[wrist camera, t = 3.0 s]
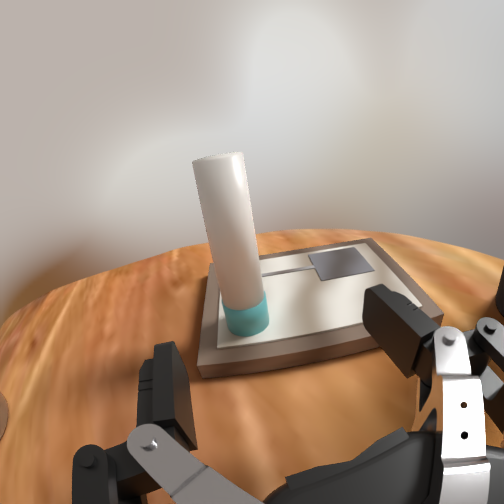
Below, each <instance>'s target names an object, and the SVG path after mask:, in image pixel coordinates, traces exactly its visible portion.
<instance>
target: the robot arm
mask: <svg viewBox="0 0 504 504" xmlns="http://www.w3.org/2000/svg"><path fill="white" fill-rule="evenodd" d="M362 321H363V325H364V327H365V329H366V330H367V331H368V333H369V334H370V335H371V336H372V337H373V338H374V340H375V341H376V342H377V343H378V344H379V346H380V347H381V348H382V349H383V350H384V351H385V353H386V354H387V355H388V356H389V357H390V359H391V360H392V361H393V362H394V363H395V365H396V366H397V367H398V368H399V369H400V371H401V372H402V373H403V374H404V375H405V377H406V378H409V377H411V376H413V375H414V374H417V375H418V376H419V377H418V380H417V397H416V413H415V420H414V423H413V426H412V429H411V432H407V433H406V432H405V430H404V429H403V427H401V428H400V429H398V430H396V431H394V432H392V433H391V434H389V435H387V436H385V437H383V438H381V439H379V440H377V441H376V442H375V443H374V444H372V445H371V446H370V447H369V448H368V449H366V450H365V451H364V452H362V453H361V454H360V455H359V456H357V457H356V458H355V459H353V460H351V461H348V462H342V463H337V464H331V465H324V466H317V467H314V468H312V469H309V470H306V471H303V472H300V473H297V474H294V475H290V476H287V477H285V479H286V484H284V485H282V486H280V487H279V488H277V489H276V490H274V491H273V492H272V493H271V494H270V495H268V496H267V497H266V499H265V500H264V501H263V502H261V501H259V500H258V499H256V498H254V497H253V496H251V495H250V494H248V493H247V492H245V491H243V490H242V489H240V488H239V487H237V486H236V485H235V484H233V483H232V482H230V481H229V480H227V479H226V478H225V477H223V476H222V475H220V474H219V473H218V472H216V471H215V470H213V469H212V468H211V467H209V466H207V465H204V464H203V463H201V462H200V461H199V460H198V459H196V458H195V457H194V456H193V455H192V454H190V451H192V450H198V447H197V441H196V434H195V427H194V419H193V412H192V403H191V395H190V385H189V378H188V374H187V371H186V368H185V365H184V363H183V361H182V359H181V356H180V354H179V352H178V350H177V347H176V345H175V343H174V342H173V341H171V342H166V343H161V344H156V345H155V346H154V358H153V359H148V360H145V361H144V363H143V365H142V367H141V369H140V372H139V385H138V391H139V392H138V403H137V425H136V428H135V429H134V430H133V431H132V432H131V433H130V434H129V436H128V439H127V441H126V442H124V443H122V444H120V445H117V446H114V447H112V448H109V449H106V450H103V449H102V448H101V447H99V446H97V445H91V444H90V445H85V446H83V447H81V448H80V449H79V450H78V451H77V452H76V453H75V455H74V458H73V470H72V504H148V503H147V496H146V494H147V493H150V492H152V491H155V490H158V489H160V488H163V489H164V490H165V491H166V492H167V493H168V494H169V495H170V497H171V498H172V499H173V501H174V502H176V503H177V504H504V383H503V382H502V381H501V380H500V378H499V377H498V376H497V375H496V374H495V373H494V372H493V371H492V369H491V368H490V367H489V366H488V364H489V362H490V360H491V359H492V360H493V361H494V362H495V363H496V364H497V365H498V366H499V367H500V368H501V369H502V371H503V372H504V326H503V325H502V324H501V323H499V322H498V321H497V320H495V319H493V318H489V317H484V318H481V319H480V320H479V321H478V322H477V325H476V328H475V329H474V330H470V331H466V332H461V331H460V330H458V329H457V328H454V327H451V326H444V327H440V326H439V325H438V324H437V323H436V322H434V321H433V320H432V319H431V318H430V317H429V316H428V315H427V314H425V313H424V312H423V311H422V310H421V309H418V307H417V306H416V305H415V304H414V303H412V301H410V300H409V299H408V298H407V297H406V296H405V295H402V294H400V293H398V292H396V291H391V290H390V289H389V288H387V287H386V286H385V285H384V284H378V285H375V286H372V287H370V288H367V289H366V290H365V292H364V302H363V312H362ZM483 408H484V410H485V411H486V412H487V414H488V415H489V416H490V418H491V419H492V420H493V422H494V423H495V424H496V426H497V427H498V428H499V430H500V431H501V433H502V434H503V441H502V442H501V448H499V447H494V446H489V445H485V424H484V410H483ZM7 420H8V404H7V401H6V399H5V397H4V396H3V395H2V394H1V392H0V439H1V437H2V435H3V433H4V430H5V428H6V425H7Z"/></svg>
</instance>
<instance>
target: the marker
mask: <svg viewBox="0 0 504 504" xmlns="http://www.w3.org/2000/svg"><path fill="white" fill-rule="evenodd" d="M192 164H193V169H194V174H195V179H196V184H197V189H198V194H199V199H200V204H201V208H202V213H203V218H204V222H205V227H206V232H207V236H208V240H209V245H210V250H211V254H212V258H213V263H214V267H215V271H216V275H217V280H218V284H219V288H220V292H221V296H222V306H223V310H224V314H225V318H226V321H227V325H228V329H229V330H230V332H231V333H233V334H235V335H237V336H243V337H247V336H253V335H256V334H259V333H261V332H262V331H264V330H265V329H266V328H267V327H268V325H269V313H268V306H267V299H266V293H265V291H264V288H263V281H262V275H261V268H260V261H259V255H258V248H257V242H256V235H255V230H254V229H255V228H254V222H253V215H252V209H251V203H250V196H249V190H248V183H247V176H246V170H245V164H244V158H243V153H242V152H233V153H225V154H219V155H214V156H209V157H204V158H201V159H198V160H195V161H193V162H192Z"/></svg>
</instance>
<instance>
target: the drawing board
mask: <svg viewBox="0 0 504 504" xmlns="http://www.w3.org/2000/svg"><path fill="white" fill-rule="evenodd" d="M259 261H260V268H261V275H262V281H263V288H264V291H265V293H266V299H267V306H268V313H269V325H268V327H267V328H266V329H265V330H264V331H262V332H261V333H259V334H256V335H253V336H247V337H243V336H237V335H235V334H233V333H231V332H230V330H229V329H228V325H227V321H226V318H225V314H224V310H223V306H222V296H221V292H220V288H219V284H218V280H217V275H216V271H215V267H214V263H210V267H209V274H208V281H207V288H206V296H205V303H204V311H203V319H202V327H201V335H200V343H199V352H198V361H197V367H198V369H199V372H200V374H201V377H202V378H213V377H223V376H232V375H240V374H248V373H256V372H263V371H269V370H276V369H282V368H288V367H293V366H299V365H304V364H309V363H314V362H319V361H324V360H328V359H333V358H337V357H341V356H346V355H350V354H354V353H358V352H362V351H365V350H369V349H373V348H377V347H380V346H379V344H378V343H377V342H376V341H375V340H374V338H373V337H372V336H371V335H370V334H369V333H368V331H367V330H366V329H365V327H364V325H363V321H362V312H363V302H364V292H365V290H366V289H367V288H370V287H372V286H375V285H378V284H384V285H385V286H386V287H387V288H389V289H390V290H391V291H396V292H398V293H400V294H402V295H405V296H406V297H407V298H408V299H409V300H410V301H412V303H414V304H415V305H416V306H417V307H418V309H421V310H422V311H423V312H424V313H425V314H427V315H428V316H429V317H430V318H431V319H432V320H433V321H434V322H436V323H437V324H438V325H439V326H441V323H442V319H443V316H444V313H443V312H442V310H441V309H440V308H439V307H438V306H437V305H436V304H435V303H434V302H433V300H432V299H431V298H430V297H429V296H428V295H427V294H426V293H425V292H424V291H423V290H422V288H421V287H420V286H419V285H418V284H417V283H416V282H415V281H414V280H413V279H412V278H411V277H410V276H409V275H408V274H407V273H406V272H405V271H404V270H403V269H402V268H401V267H400V266H399V265H398V264H397V263H396V262H395V261H394V260H393V259H392V258H391V257H390V256H389V255H388V254H387V253H386V252H385V251H384V250H383V249H382V248H381V247H380V246H379V245H378V244H377V243H376V242H375V241H374V240H373V239H372V238H367V239H360V240H354V241H348V242H342V243H336V244H330V245H323V246H317V247H311V248H305V249H299V250H292V251H286V252H280V253H273V254H267V255H261V256H259Z"/></svg>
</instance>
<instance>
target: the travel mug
mask: <svg viewBox="0 0 504 504" xmlns="http://www.w3.org/2000/svg"><path fill="white" fill-rule="evenodd" d="M496 305H497V308H498V310H499V311H500V313H501V314H502V315H503V316H504V267H503V271H502V275H501V279H500V283H499V287H498V291H497V294H496Z"/></svg>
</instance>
